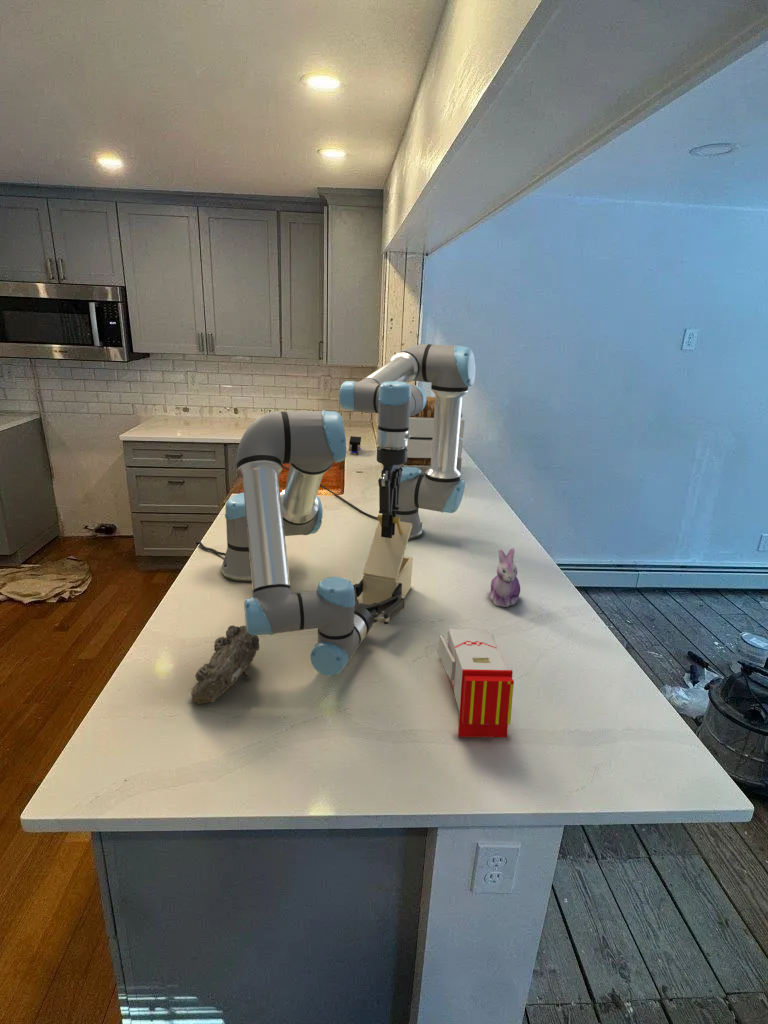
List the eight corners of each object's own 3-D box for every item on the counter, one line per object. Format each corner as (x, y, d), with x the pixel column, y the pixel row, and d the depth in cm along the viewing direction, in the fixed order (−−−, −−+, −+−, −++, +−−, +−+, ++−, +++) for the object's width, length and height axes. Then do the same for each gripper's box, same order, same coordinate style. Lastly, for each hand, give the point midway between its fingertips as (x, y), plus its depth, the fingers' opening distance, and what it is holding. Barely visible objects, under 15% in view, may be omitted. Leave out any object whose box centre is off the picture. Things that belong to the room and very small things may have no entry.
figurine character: (360, 458, 303) (361, 448, 316) (361, 444, 299) (361, 435, 313) (348, 457, 302) (349, 447, 316) (348, 444, 299) (349, 434, 312)
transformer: (382, 463, 289) (386, 382, 275) (445, 464, 293) (451, 384, 279) (390, 482, 257) (394, 392, 243) (460, 483, 261) (468, 394, 247)
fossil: (211, 627, 129) (258, 597, 124) (240, 656, 132) (287, 627, 127) (170, 698, 110) (224, 665, 105) (204, 729, 113) (259, 699, 108)
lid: (380, 520, 155) (375, 503, 148) (412, 525, 152) (408, 508, 145) (363, 574, 147) (357, 559, 140) (396, 580, 144) (391, 566, 137)
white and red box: (488, 613, 130) (523, 677, 101) (484, 667, 133) (517, 744, 104) (435, 612, 130) (455, 676, 101) (432, 666, 133) (451, 743, 103)
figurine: (502, 611, 151) (509, 560, 146) (479, 594, 159) (485, 545, 154) (530, 604, 155) (537, 554, 150) (506, 588, 163) (512, 540, 158)
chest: (380, 582, 164) (382, 552, 161) (410, 587, 162) (412, 557, 158) (362, 607, 150) (363, 576, 147) (394, 614, 147) (396, 582, 144)
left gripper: (308, 631, 133) (344, 589, 153) (396, 650, 127) (421, 604, 147) (308, 602, 131) (344, 564, 151) (398, 621, 125) (423, 578, 145)
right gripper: (398, 454, 131) (393, 548, 139) (414, 442, 145) (409, 528, 152) (368, 451, 133) (364, 543, 141) (386, 439, 147) (382, 524, 155)
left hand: (382, 584), depth 149 cm, fingers closed on chest, 9 cm apart
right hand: (387, 535), depth 147 cm, fingers closed on lid, 2 cm apart
